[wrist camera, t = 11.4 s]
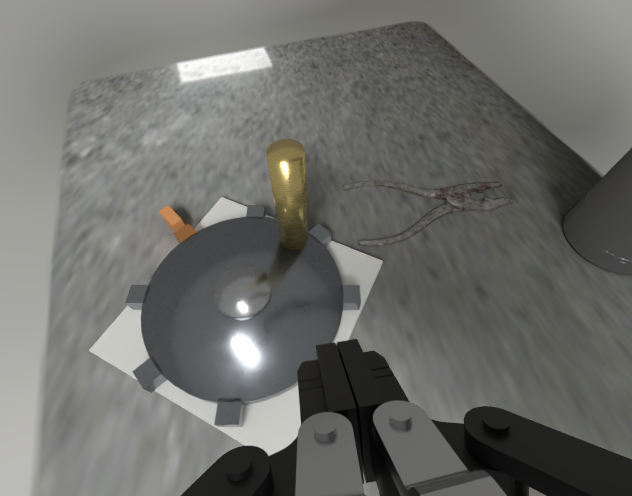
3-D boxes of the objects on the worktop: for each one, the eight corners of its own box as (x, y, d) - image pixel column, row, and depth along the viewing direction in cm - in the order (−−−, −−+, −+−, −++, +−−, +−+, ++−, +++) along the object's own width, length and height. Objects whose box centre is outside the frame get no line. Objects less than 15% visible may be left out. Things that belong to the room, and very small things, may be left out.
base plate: (195, 190, 41) (190, 178, 39) (382, 265, 35) (385, 254, 33) (61, 333, 31) (46, 325, 29) (290, 472, 25) (288, 472, 23)
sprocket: (89, 300, 32) (-23, 217, 21) (261, 186, 40) (241, 84, 29) (221, 497, 23) (144, 519, 13) (404, 301, 31) (448, 217, 21)
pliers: (329, 188, 40) (469, 148, 44) (328, 193, 41) (466, 153, 45) (363, 251, 35) (518, 199, 39) (362, 255, 36) (514, 204, 40)
